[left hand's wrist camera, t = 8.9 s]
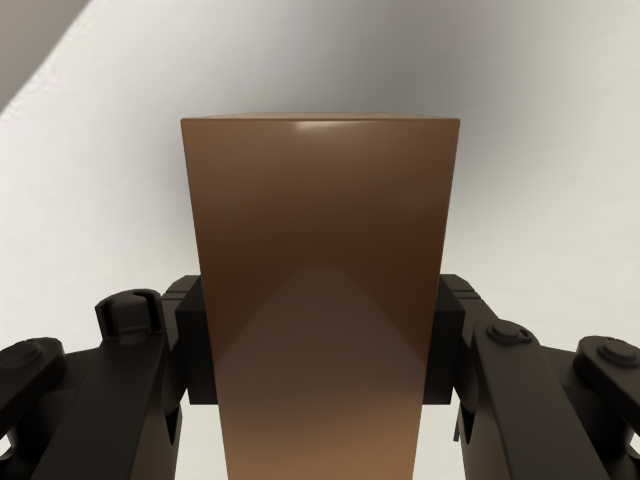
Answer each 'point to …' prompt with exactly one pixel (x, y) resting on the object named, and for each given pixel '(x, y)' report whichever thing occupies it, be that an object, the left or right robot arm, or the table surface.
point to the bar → (320, 284)
